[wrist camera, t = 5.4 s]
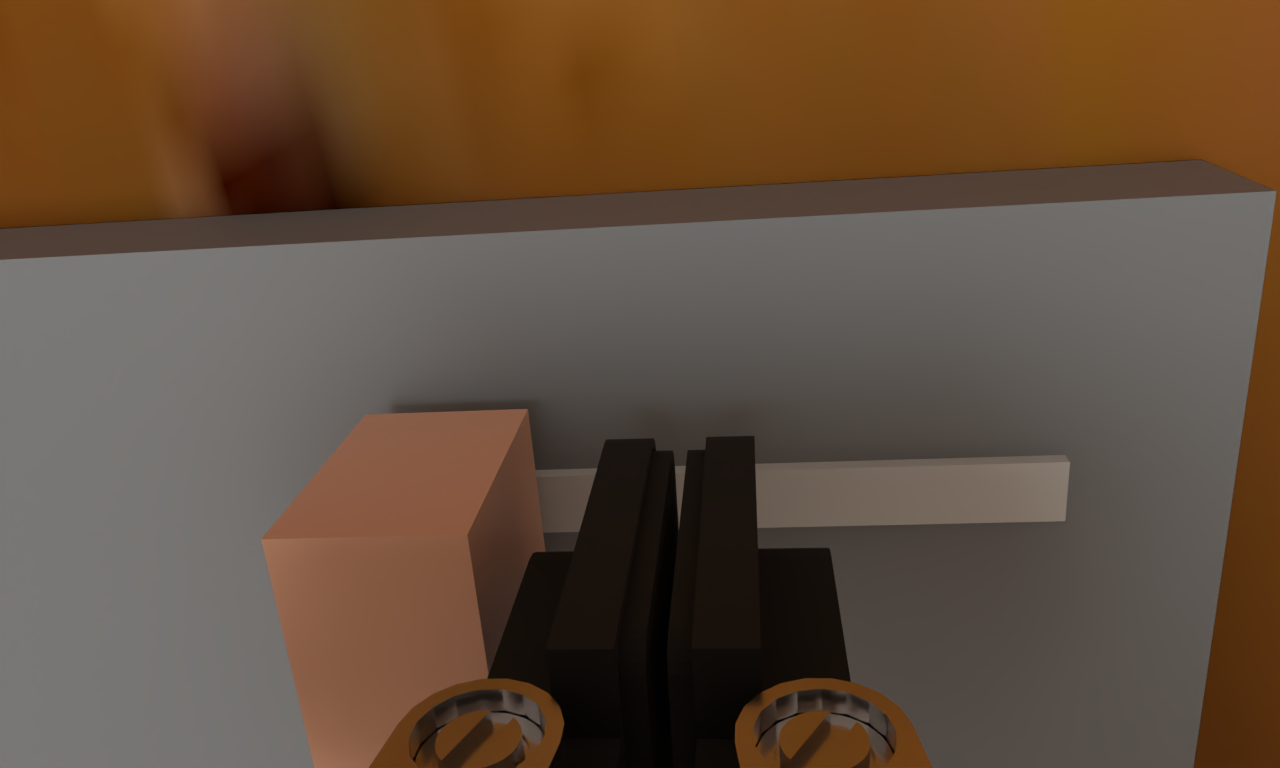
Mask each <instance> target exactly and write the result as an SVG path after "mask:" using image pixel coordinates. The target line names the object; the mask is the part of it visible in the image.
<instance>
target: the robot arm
mask: <svg viewBox="0 0 1280 768" xmlns="http://www.w3.org/2000/svg"><path fill="white" fill-rule="evenodd" d="M369 768H933V767H932V765H931V763H930V761H929V759H928V757H927V754H926V752H925V750H924V748H923V746H922V743H921V741H920V739H919V737H918V735H917V733H916V730H915V728H914V726H913V724H912V723H911V722H910V720H909V719H908V717H907V716H906V715H905V713H904V712H903V710H902V709H901V708H900V707H899V706H898V705H896V704H895V703H894V702H892V701H891V700H890V699H888V698H887V697H886V696H884V695H883V694H882V693H879V692H877V691H875V690H872V689H870V688H867V687H865V686H863V685H860V684H858V683H853V682H851V680H850V673H849V667H848V660H847V654H846V647H845V641H844V634H843V628H842V622H841V615H840V609H839V602H838V596H837V589H836V583H835V576H834V570H833V564H832V557H831V552H830V548H762V549H758V533H757V501H756V470H755V438H754V436H724V437H706V447H705V450H688V451H687V459H686V469H685V478H684V487H683V497H682V506H681V515H680V525H678V509H677V493H676V476H675V462H674V453H673V451H672V450H671V451H656V445H655V440H654V439H653V438H647V439H608V440H605V443H604V446H603V449H602V453H601V457H600V460H599V464H598V467H597V471H596V474H595V478H594V481H593V485H592V488H591V492H590V495H589V499H588V502H587V506H586V510H585V513H584V517H583V520H582V524H581V527H580V531H579V534H578V538H577V541H576V545H575V548H574V551H554V552H534V553H533V554H532V555H531V557H530V559H529V562H528V565H527V567H526V570H525V573H524V576H523V579H522V582H521V584H520V587H519V590H518V593H517V596H516V598H515V601H514V604H513V607H512V610H511V613H510V615H509V618H508V621H507V624H506V627H505V630H504V632H503V635H502V638H501V641H500V644H499V647H498V649H497V652H496V655H495V658H494V661H493V664H492V666H491V669H490V672H489V675H488V678H487V679H479V680H474V681H469V682H464V683H459V684H456V685H454V686H451V687H449V688H446V689H444V690H441V691H439V692H436V693H434V694H432V695H431V696H429V697H428V698H426V699H425V700H423V701H422V702H420V703H419V704H417V705H416V706H414V707H413V708H412V709H411V710H410V711H409V712H408V713H407V714H406V716H405V717H404V718H403V719H402V720H401V721H400V722H399V723H398V725H397V726H396V728H395V729H394V731H393V732H392V734H391V735H390V737H389V738H388V740H387V741H386V743H385V744H384V746H383V747H382V749H381V750H380V751H379V753H378V754H377V756H376V757H375V759H374V760H373V762H372V763H371V765H370V766H369Z"/></svg>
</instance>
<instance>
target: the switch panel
mask: <svg viewBox="0 0 1280 768" xmlns="http://www.w3.org/2000/svg"><path fill="white" fill-rule="evenodd" d="M1276 192H1277V191H1275V190H1273V189H1271V188H1268V187H1266V186H1264V185H1261V184H1259V183H1256V182H1254V181H1252V180H1249V179H1247V178H1244V177H1242V176H1240V175H1237V174H1235V173H1232V172H1230V171H1228V170H1225V169H1223V168H1221V167H1218V166H1216V165H1213V164H1211V163H1209V162H1206V161H1204V160H1189V161H1171V162H1154V163H1137V164H1119V165H1102V166H1084V167H1067V168H1050V169H1032V170H1015V171H997V172H980V173H962V174H945V175H928V176H910V177H893V178H875V179H858V180H841V181H823V182H806V183H788V184H771V185H753V186H736V187H719V188H701V189H684V190H666V191H649V192H632V193H614V194H597V195H579V196H562V197H544V198H527V199H510V200H492V201H475V202H457V203H440V204H423V205H405V206H388V207H370V208H353V209H335V210H318V211H301V212H283V213H266V214H248V215H231V216H214V217H196V218H179V219H161V220H144V221H126V222H109V223H92V224H74V225H57V226H39V227H22V228H5V229H0V768H314V764H313V760H312V756H311V751H310V747H309V743H308V738H307V734H306V730H305V726H304V721H303V717H302V713H301V708H300V704H299V700H298V695H297V691H296V687H295V683H294V678H293V674H292V670H291V665H290V661H289V657H288V653H287V648H286V644H285V640H284V635H283V631H282V627H281V623H280V618H279V614H278V610H277V605H276V601H275V597H274V593H273V588H272V584H271V580H270V575H269V571H268V567H267V563H266V558H265V554H264V550H263V545H262V541H261V539H262V538H263V536H264V535H265V534H266V533H267V532H268V530H269V529H270V528H271V527H272V526H273V525H274V523H275V522H276V521H277V520H278V519H279V517H280V516H281V515H282V514H283V513H284V511H285V510H286V509H287V508H288V507H289V505H290V504H291V503H292V502H293V501H294V499H295V498H296V497H297V496H298V495H299V493H300V492H301V491H302V490H303V489H304V487H305V486H306V485H307V484H308V483H309V482H310V480H311V479H312V478H313V477H314V476H315V474H316V473H317V472H318V471H319V470H320V468H321V467H322V466H323V465H324V464H325V462H326V461H327V460H328V459H329V458H330V456H331V455H332V454H333V453H334V452H335V450H336V449H337V448H338V447H339V446H340V445H341V443H342V442H343V441H344V440H345V439H346V437H347V436H348V435H349V434H350V433H351V431H352V430H353V429H354V428H355V427H356V425H357V424H358V423H359V422H360V421H361V419H362V418H363V417H364V416H365V415H366V414H395V413H423V412H452V411H480V410H508V409H528V414H529V422H530V430H531V438H532V446H533V454H534V463H535V471H536V479H537V487H538V495H539V503H540V512H541V520H542V528H543V536H544V544H545V552H554V551H574V548H575V545H576V541H577V538H578V534H579V531H580V527H581V524H582V520H583V517H584V513H585V510H586V506H587V502H588V499H589V495H590V492H591V488H592V485H593V481H594V478H595V474H596V471H597V467H598V464H599V460H600V457H601V453H602V449H603V446H604V443H605V440H608V439H647V438H653V439H654V440H655V445H656V451H671V450H672V451H673V453H674V462H675V476H676V493H677V509H678V525H680V515H681V506H682V497H683V487H684V478H685V469H686V459H687V451H688V450H705V447H706V437H724V436H754V438H755V470H756V501H757V533H758V549H762V548H830V552H831V557H832V564H833V570H834V576H835V583H836V589H837V596H838V602H839V609H840V615H841V622H842V628H843V634H844V641H845V647H846V654H847V660H848V667H849V673H850V680H851V682H853V683H858V684H860V685H863V686H865V687H867V688H870V689H872V690H875V691H877V692H879V693H882V694H883V695H884V696H886V697H887V698H888V699H890V700H891V701H892V702H894V703H895V704H896V705H898V706H899V707H900V708H901V709H902V710H903V712H904V713H905V715H906V716H907V717H908V719H909V720H910V722H911V723H912V724H913V726H914V728H915V730H916V733H917V735H918V737H919V739H920V741H921V743H922V746H923V748H924V750H925V752H926V754H927V757H928V759H929V761H930V763H931V765H932V767H933V768H1193V767H1194V761H1195V754H1196V747H1197V740H1198V733H1199V726H1200V719H1201V712H1202V705H1203V698H1204V691H1205V684H1206V677H1207V670H1208V664H1209V657H1210V650H1211V643H1212V636H1213V629H1214V622H1215V615H1216V608H1217V601H1218V594H1219V587H1220V580H1221V573H1222V566H1223V560H1224V553H1225V546H1226V539H1227V532H1228V525H1229V518H1230V511H1231V504H1232V497H1233V490H1234V483H1235V476H1236V469H1237V463H1238V456H1239V449H1240V442H1241V435H1242V428H1243V421H1244V414H1245V407H1246V400H1247V393H1248V386H1249V379H1250V372H1251V366H1252V359H1253V352H1254V345H1255V338H1256V331H1257V324H1258V317H1259V310H1260V303H1261V296H1262V289H1263V282H1264V275H1265V269H1266V262H1267V255H1268V248H1269V241H1270V234H1271V227H1272V220H1273V213H1274V206H1275V199H1276Z"/></svg>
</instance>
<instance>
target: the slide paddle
mask: <svg viewBox="0 0 1280 768" xmlns="http://www.w3.org/2000/svg"><path fill="white" fill-rule="evenodd" d="M261 541H262V545H263V550H264V554H265V558H266V563H267V567H268V571H269V575H270V580H271V584H272V588H273V593H274V597H275V601H276V605H277V610H278V614H279V618H280V623H281V627H282V631H283V635H284V640H285V644H286V648H287V653H288V657H289V661H290V665H291V670H292V674H293V678H294V683H295V687H296V691H297V695H298V700H299V704H300V708H301V713H302V717H303V721H304V726H305V730H306V734H307V738H308V743H309V747H310V751H311V756H312V760H313V764H314V768H369V766H370V765H371V763H372V762H373V760H374V759H375V757H376V756H377V754H378V753H379V751H380V750H381V749H382V747H383V746H384V744H385V743H386V741H387V740H388V738H389V737H390V735H391V734H392V732H393V731H394V729H395V728H396V726H397V725H398V723H399V722H400V721H401V720H402V719H403V718H404V717H405V716H406V714H407V713H408V712H409V711H410V710H411V709H412V708H413V707H414V706H416V705H417V704H419V703H420V702H422V701H423V700H425V699H426V698H428V697H429V696H431V695H432V694H434V693H436V692H439V691H441V690H444V689H446V688H449V687H451V686H454V685H456V684H459V683H464V682H469V681H474V680H479V679H487V678H488V675H489V672H490V669H491V666H492V664H493V661H494V658H495V655H496V652H497V649H498V647H499V644H500V641H501V638H502V635H503V632H504V630H505V627H506V624H507V621H508V618H509V615H510V613H511V610H512V607H513V604H514V601H515V598H516V596H517V593H518V590H519V587H520V584H521V582H522V579H523V576H524V573H525V570H526V567H527V565H528V562H529V559H530V557H531V555H532V554H533V553H534V552H545V544H544V536H543V528H542V520H541V512H540V503H539V495H538V487H537V479H536V471H535V463H534V454H533V446H532V438H531V430H530V422H529V414H528V409H508V410H480V411H452V412H423V413H395V414H366V415H365V416H364V417H363V418H362V419H361V421H360V422H359V423H358V424H357V425H356V427H355V428H354V429H353V430H352V431H351V433H350V434H349V435H348V436H347V437H346V439H345V440H344V441H343V442H342V443H341V445H340V446H339V447H338V448H337V449H336V450H335V452H334V453H333V454H332V455H331V456H330V458H329V459H328V460H327V461H326V462H325V464H324V465H323V466H322V467H321V468H320V470H319V471H318V472H317V473H316V474H315V476H314V477H313V478H312V479H311V480H310V482H309V483H308V484H307V485H306V486H305V487H304V489H303V490H302V491H301V492H300V493H299V495H298V496H297V497H296V498H295V499H294V501H293V502H292V503H291V504H290V505H289V507H288V508H287V509H286V510H285V511H284V513H283V514H282V515H281V516H280V517H279V519H278V520H277V521H276V522H275V523H274V525H273V526H272V527H271V528H270V529H269V530H268V532H267V533H266V534H265V535H264V536H263V538H262V539H261Z"/></svg>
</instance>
